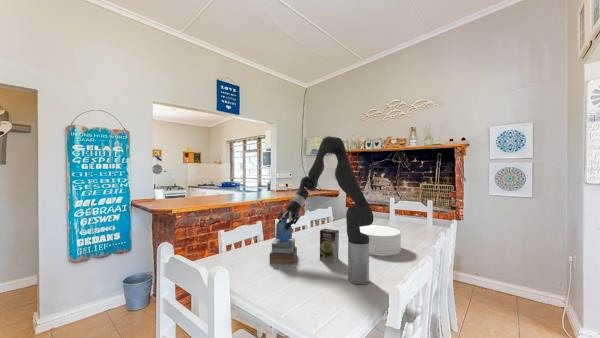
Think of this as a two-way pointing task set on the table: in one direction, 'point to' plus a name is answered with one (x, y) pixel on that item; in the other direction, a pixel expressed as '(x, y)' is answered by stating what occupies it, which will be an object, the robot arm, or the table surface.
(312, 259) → the table surface
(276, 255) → the two-tone square pedestal
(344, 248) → the table surface
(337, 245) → the coffee box
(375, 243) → the white short wide cylinder
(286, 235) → the perfume bottle
